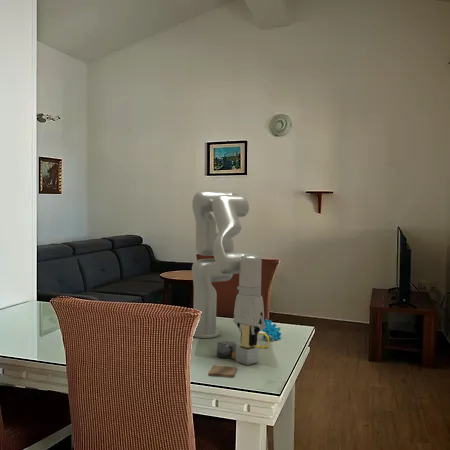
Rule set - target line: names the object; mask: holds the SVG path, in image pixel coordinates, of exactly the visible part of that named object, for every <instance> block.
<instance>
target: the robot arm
mask: <svg viewBox="0 0 450 450" xmlns="http://www.w3.org/2000/svg"><path fill="white" fill-rule="evenodd" d="M191 204H192V205H191V206H192V213H193V216H194V220H195V249H196V253H197V254H198V255H199V256H205V257H208V256H213V258H200V259H197V260H195V261H194V262H193V264H192V266H191V275H192V281H193V283H192V284H193V310H194V309H198V310H201V311H202V316H201V318H200V321H199V323H198V326H197V328H196V331H195V334H194V337H193V338H196V339H197V338H198V339H212V338H217V337H219V336H221V334H220V331H219V330H217V303H218V302H217V301H218V300H217V297H218V296H217V295H218V293H217V290H216V289H215V287H214V286H213V284H212V283H214V282H215V283H216V282H228V281H230V280H231V279H232V278H233V276H234V275H237V274H238V275H239V279H238V286H237V287H236V289H237V291H238V293H237V294H236V298H235V301H234V310H233V319H232V321H233V323H234V324H235V325H236V326H237V328H238V329H239V330H238V331H239V332H240V340H241V339H242V324H244V325H248V326H251V333H252V334H250V346H255V345H258V335H259V334H258V333H259V332H260V331H263V330H262V329H264V328H266V325H265V323H264V320H265V310H264V309H265V306H264V298H263V295H262V264H263V263H262V261H263V260H262V258H261V256H260V255H257V254H253V253H250V252H234V249H235V247H234V241H233V238H235V237H236V236H238V235H239V233H241V231H242V225H241V221H240V219H239V218H240V217H241V218H243V217H246V216H247V215H248V213H249V209H250V207H249V206H250V203H249V202H248V200H247V198H246V197H245V196H244V195H242V194H240V193H236V192H233V191H225V190H224V191H221V190H220V191H218V190H201V191H197V192H196V193H195V194H194V195H193V198H192V203H191ZM212 213H213V214H212ZM217 229H218V232H217ZM257 334H258V335H257Z"/></svg>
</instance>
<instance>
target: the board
mask: <svg viewBox="0 0 450 450" xmlns="http://www.w3.org/2000/svg"><path fill="white" fill-rule="evenodd" d="M237 370H238V366H230V365H229V366H228V365H217V364H216V365H215V364H213V365H212V367H211V368H210V369H209V371H208V373H207V376H209V377H224V378H234V377H235V374H236V373H237V372H238V371H237Z"/></svg>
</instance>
